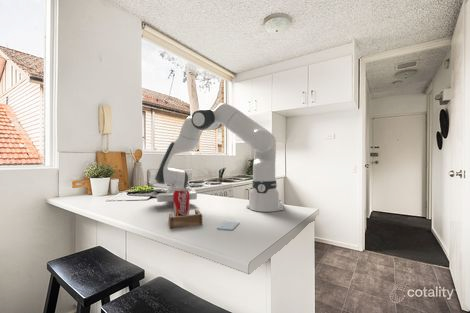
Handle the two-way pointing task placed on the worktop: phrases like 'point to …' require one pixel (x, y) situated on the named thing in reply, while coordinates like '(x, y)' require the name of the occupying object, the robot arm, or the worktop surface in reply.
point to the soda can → (181, 202)
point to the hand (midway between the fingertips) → (178, 199)
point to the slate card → (228, 226)
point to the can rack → (185, 220)
